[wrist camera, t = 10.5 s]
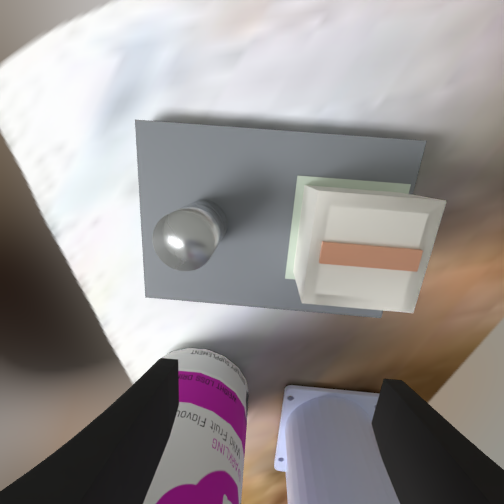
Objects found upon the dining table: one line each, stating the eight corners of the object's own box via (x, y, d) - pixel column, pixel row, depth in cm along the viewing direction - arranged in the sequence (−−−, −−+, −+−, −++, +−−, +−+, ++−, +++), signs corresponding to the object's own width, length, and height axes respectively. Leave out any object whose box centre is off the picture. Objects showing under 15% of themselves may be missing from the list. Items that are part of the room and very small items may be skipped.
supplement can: (219, 327, 20) (107, 718, 6) (265, 403, 22) (265, 830, 8) (132, 362, 21) (-130, 746, 7) (183, 431, 24) (58, 834, 9)
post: (226, 246, 16) (213, 273, 12) (182, 242, 17) (153, 268, 12) (228, 201, 16) (214, 213, 11) (182, 198, 16) (150, 208, 11)
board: (372, 306, 19) (381, 318, 17) (154, 287, 19) (144, 298, 18) (411, 143, 16) (427, 140, 14) (146, 124, 16) (134, 119, 14)
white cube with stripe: (293, 271, 17) (302, 305, 13) (304, 184, 15) (319, 190, 11) (378, 279, 17) (415, 315, 12) (399, 192, 15) (450, 201, 11)
